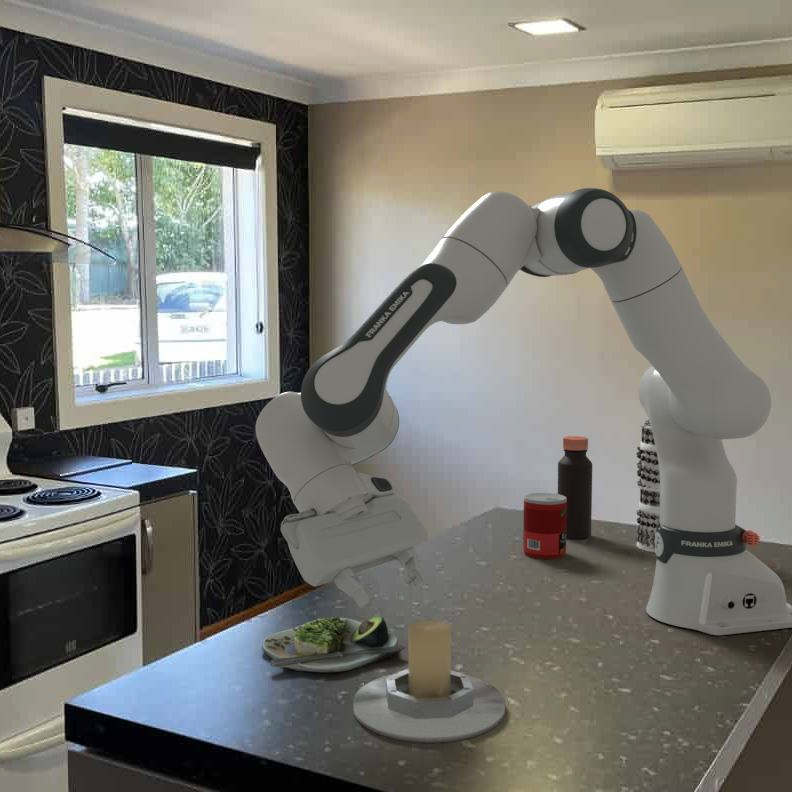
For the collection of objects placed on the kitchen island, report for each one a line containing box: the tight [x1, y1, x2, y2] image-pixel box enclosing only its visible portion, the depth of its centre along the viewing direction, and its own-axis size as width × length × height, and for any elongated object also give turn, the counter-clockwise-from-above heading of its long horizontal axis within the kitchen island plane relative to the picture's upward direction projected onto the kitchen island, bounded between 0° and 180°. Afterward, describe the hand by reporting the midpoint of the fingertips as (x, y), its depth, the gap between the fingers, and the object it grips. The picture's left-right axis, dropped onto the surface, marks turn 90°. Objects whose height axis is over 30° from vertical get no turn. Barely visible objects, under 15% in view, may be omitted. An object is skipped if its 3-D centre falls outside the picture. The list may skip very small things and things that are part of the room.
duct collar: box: [353, 667, 506, 744], centre depth 116 cm, size 18×18×3 cm
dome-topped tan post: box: [407, 619, 452, 698], centre depth 116 cm, size 5×5×9 cm
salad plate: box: [261, 615, 407, 673], centre depth 134 cm, size 19×18×5 cm
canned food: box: [522, 492, 567, 560], centre depth 184 cm, size 8×8×11 cm
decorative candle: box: [635, 418, 660, 553], centre depth 187 cm, size 9×9×25 cm
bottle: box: [557, 435, 593, 540], centre depth 197 cm, size 7×7×20 cm
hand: (394, 594), depth 119 cm, fingers open, 8 cm apart
